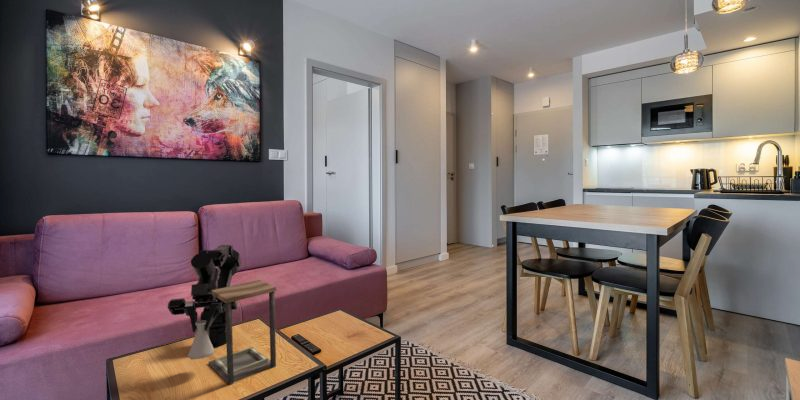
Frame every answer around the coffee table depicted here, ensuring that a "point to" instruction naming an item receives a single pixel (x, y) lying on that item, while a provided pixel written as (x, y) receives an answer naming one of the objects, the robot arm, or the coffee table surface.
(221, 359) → the wooden top side table
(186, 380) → the coffee table surface
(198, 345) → the flask
